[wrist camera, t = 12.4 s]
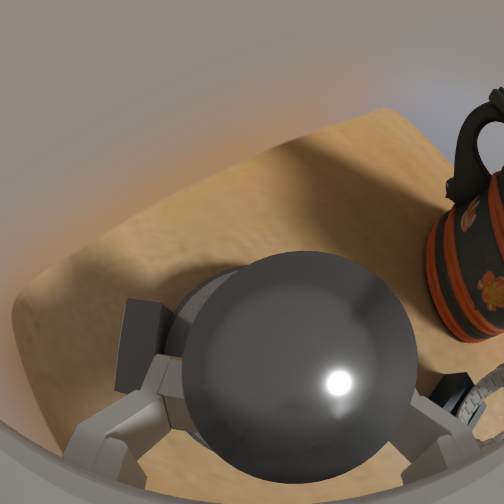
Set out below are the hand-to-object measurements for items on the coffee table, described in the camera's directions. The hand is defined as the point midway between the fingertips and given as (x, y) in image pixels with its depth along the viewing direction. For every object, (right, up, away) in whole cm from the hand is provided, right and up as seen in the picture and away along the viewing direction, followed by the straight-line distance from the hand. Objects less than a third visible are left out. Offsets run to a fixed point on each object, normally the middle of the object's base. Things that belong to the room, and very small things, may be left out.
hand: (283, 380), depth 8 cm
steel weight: (0, -2, +5) cm, 5 cm away
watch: (+17, -11, +10) cm, 22 cm away
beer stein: (+21, +3, +16) cm, 27 cm away
